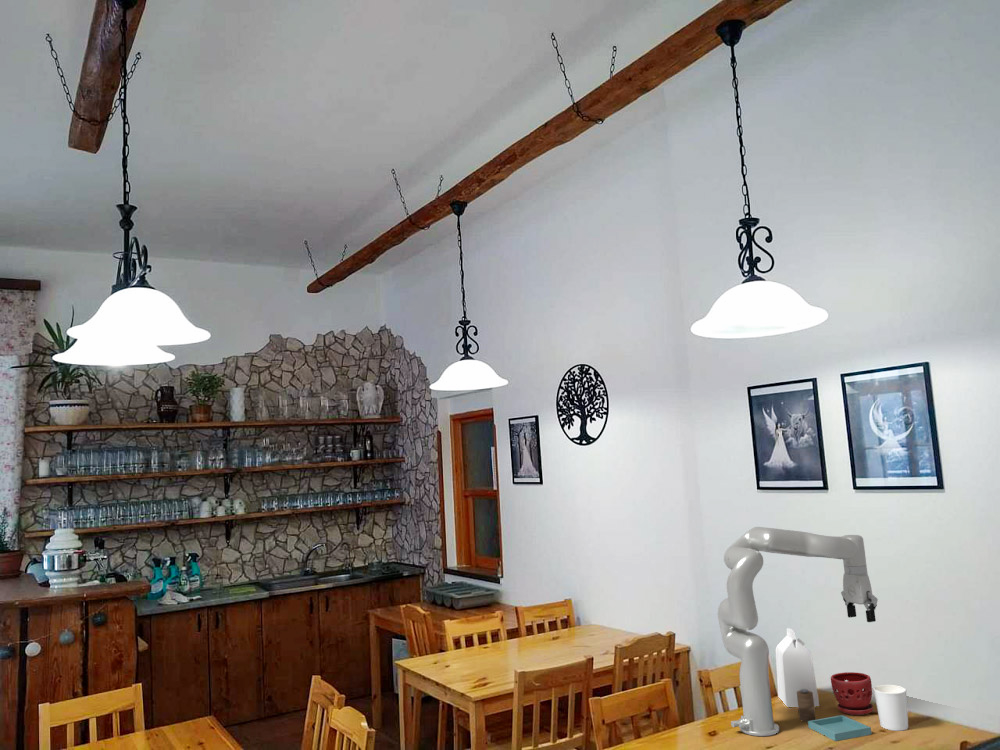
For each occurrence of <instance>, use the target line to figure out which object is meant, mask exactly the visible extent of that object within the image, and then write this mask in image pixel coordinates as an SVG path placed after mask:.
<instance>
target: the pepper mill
mask: <svg viewBox="0 0 1000 750" xmlns="http://www.w3.org/2000/svg"><path fill="white" fill-rule="evenodd" d="M797 700H798V708H797V709H798V716H799V720H800V721H801V720H802V721H801V722H804V721H806V722H805V723H808V721H812V720H817V718H816V712H815V711H816V710H815V707H814V700H813V692H811V691H808V690H807V689H801V690H800V691H797Z"/></svg>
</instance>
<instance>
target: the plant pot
mask: <svg viewBox="0 0 1000 750" xmlns="http://www.w3.org/2000/svg"><path fill="white" fill-rule="evenodd" d="M830 685H831V689H832V692H833V694H834V695H833V696H834V698H835V700H836V701H837V703H838V704H837V708H838V710H839V711H840V712H842V713H844V714H845V715H849V716H851V715H853V716H864V715H867V714H870V713H872V711H873V710H874V705H873V704H871V702H872V699H873V685H872V679H871V676H870V675H869V674H866V673H863V672H862V673H861V672H854V671H853V672H848V671H847V672H838V673H834V674H832V675H831V676H830Z"/></svg>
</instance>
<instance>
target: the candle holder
mask: <svg viewBox="0 0 1000 750" xmlns="http://www.w3.org/2000/svg"><path fill="white" fill-rule="evenodd" d="M872 690H873V692H874V698H875V704H876V709H877V714H878V720H879V724H880V728H882V727H883V728H882V729H884V728H885V730H887V729H888V731H893V732H895V731H896V732H901V731H906V730H908V728H909V712H908V699H907V689H906V687H904V686H900V685H895V684H879V685H875V686H874V687H872Z"/></svg>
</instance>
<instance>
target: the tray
mask: <svg viewBox="0 0 1000 750" xmlns="http://www.w3.org/2000/svg"><path fill="white" fill-rule="evenodd" d="M807 725H808V729H810V728H811V729H810V730H812V729H813V730H812V731H814V730H815V731H814V732H816V731H817V732H816V733H818V732H819V733H818V734H820V733H821V734H820V735H822V734H823V735H822V736H824V735H825V736H824V737H826V736H827V737H826V738H828V739H830V740H832V741H834V742H838V741H843V740H850V739H854V738H860V737H865V736H870V735H871V734H872V727H871V726H868V725H866V724H864V723H861V722H859V721H857V720H854V719H853V718H850V717H848V716H846V715H843V714H842V715H841V714H840V715H836V716H830V717H824V718H820V719H817V718H816V720H812V721H808V722H807ZM871 736H872V735H871Z"/></svg>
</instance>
